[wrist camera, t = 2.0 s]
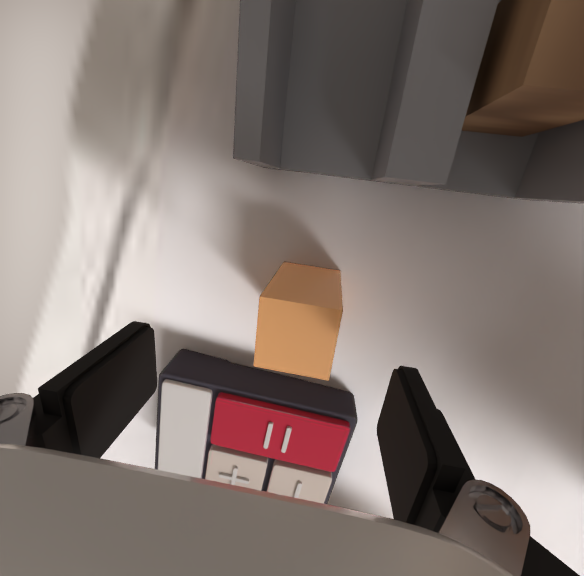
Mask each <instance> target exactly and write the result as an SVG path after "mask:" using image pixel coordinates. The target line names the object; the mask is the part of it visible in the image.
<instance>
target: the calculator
mask: <svg viewBox="0 0 584 576" xmlns="http://www.w3.org/2000/svg"><path fill="white" fill-rule="evenodd" d="M356 424H357V413H356V407H355V400H354V395H353V394H352V393H350V392H347V391H343V390H339V389H335V388H331V387H327V386H324V385H320V384H316V383H312V382H308V381H304V380H301V379H297V378H293V377H289V376H284V375H280V374H276V373H271V372H267V371H262V370H258V369H254V368H249V367H245V366H241V365H236V364H232V363H230V362H229V361H227V360H224V359H221V358H217V357H213V356H209V355H205V354H202V353H198V352H194V351H190V350H186V349H181V350H180V351H179V352H178V353H177V354H176V355H175V356H174V358H173V359H172V360H171V361H170V362H169V364H168V365H167V366H166V367H165V368H164V369H163V371H162V372H161V373H160V375H159V386H158V409H157V432H156V455H155V469H156V470H162V471H167V472H172V473H177V474H181V475H186V476H191V477H196V478H201V479H206V480H211V481H216V482H221V483H226V484H231V485H236V486H241V487H246V488H251V489H256V490H260V491H265V492H270V493H275V494H280V495H284V496H289V497H294V498H299V499H303V500H308V501H313V502H318V503H323V504H327V503H328V500H329V497H330V494H331V492H332V489H333V486H334V484H335V481H336V478H337V475H338V473H339V470H340V467H341V465H342V462H343V459H344V457H345V454H346V451H347V448H348V446H349V443H350V440H351V438H352V435H353V432H354V429H355V427H356Z"/></svg>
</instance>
